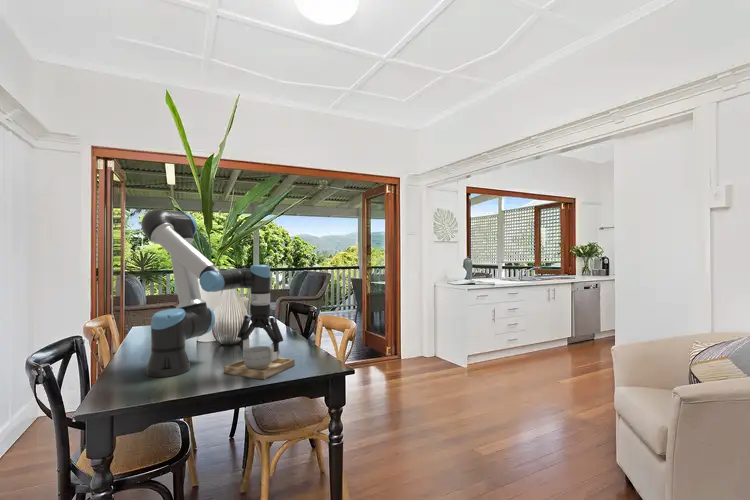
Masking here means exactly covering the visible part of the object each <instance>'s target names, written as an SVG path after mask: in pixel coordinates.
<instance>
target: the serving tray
mask: <svg viewBox="0 0 750 500" xmlns="http://www.w3.org/2000/svg"><path fill="white" fill-rule="evenodd" d="M295 362H296V361H295V359H294V358H286V357H285V358H284V357H279V356H277V359H276V360H274V361H272V362H271V363H270V365H269V366H268V367H267V368H265V369H262V370H250V369H248V368H247V367H246V366H245V364H244V359H241V360H239V361H236V362H233V363H230V364H227V365H225V366H223V373H224V374H226V375H227V374H228V375H233V376H241V377H245V378H251V379H260V380H266V379H268V378H271V377H273V376H275V375H277V374H279V373H281V372H283V371H286V370H288V369H290V368H293V367H294V366H295Z"/></svg>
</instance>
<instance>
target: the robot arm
mask: <svg viewBox="0 0 750 500" xmlns="http://www.w3.org/2000/svg"><path fill="white" fill-rule="evenodd" d="M141 229H142V232H143V234H144V235H145V236H146V238H147V239H148V240H150V241H151V242H152V243H153V244H155V245H160V246H161V247H162V248H163V249H164V250H165V251H166V252H168V253H169V256H170V261H171V267H172V271H173V277H174V281H175V282H174V283H175V289H176V292H177V299H178V305H177V306H176V308H175V307H174V308H169V309H163V310H159V311H157V312H155V313H154V314H153V315H152V316H151V322H150V323H151V324H150V331H151V332H150V339H151V340H150V342H151V344H150V345H151V346H150V347H151V348H150V350H151V351H150V356H149V359H148V362H147V365H146V368H145V375H146V376H148V377H153V378H164V377H165V378H166V377H171V376H178V375H181V374H184V373H187V372H189V371H190V369H191V362H190V360H189V356H188V354H187V351H186V341H187V340H190V339H194V338H197V337H202V336H203V335H206V334H209V332H211V331H212V330H213V328H214V327H215V323H216V316H215V315H216V314H215V312H214V310H212V309H211V308H210V307H208V306H207V305H208V304H207V301H206V300H204V299H203V298H202V294H201V290H200V287H201V289H202V290H203V291H205V292H208V293H217V292H221V291H227V290H228V291H229V290H236V289H250V290H249V291H250V303H249V304H250V307H249V308H250V309H249V311H250V313H249V314H247V315H246V314H245V315H244V317H243V322H242V325H241V327H240V329H239V332H238V334H237V338H238V339H241V347H242V357H243V358H244V352H243V350H244V349H246V348H250V339H249V338H250V335H251V334H252V333H253V331H254V330H255V329H258V328H259V329H263V331H265V332H266V333H267V336H268V337H269V339H270V340H271V342H272V343H271V344H270V347H271V361H274V360H276V359H277V357H278V356H277V351H278V350H280V346H279V344H280V343H281V342H283V341H284V338H283V336H282V333H281V329H280V328H279V325H278V322H277V317H276V316H273V317H270V313H271V305H270V303H271V276H272V275H271V267H270V266H269V265H268V264H253V265H251V266H250V268H249V269H244V268H243V269H242V268H241V269H239V268H231V269H230V268H229V269H225V270H222V269H220V268H219V267H217V265H216V264H214V263H213V262H212V261H210V260H209V259H208V258H207V257H206V256H205V255H204V254H202V253H201V252H200V251H199V250H198V249H196V248H195V247H194V246H193V245H192V243H193V242H194V241H195V239H194V236H196V234H197V233H196V232H197V231H198V223H197V221H196V219H195V217H194V216H193V215H191V214H190V213H188V212H184V211H181V210H170V209H163V208H155V209H151V210H149V211H148V212H146V213H145V215H144V216H143V218H142V219H141Z"/></svg>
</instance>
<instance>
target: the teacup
mask: <svg viewBox="0 0 750 500" xmlns="http://www.w3.org/2000/svg"><path fill="white" fill-rule="evenodd" d="M243 352H244V357H243V360H244V364H245V366H246V367H247V368H248V369H250V370H262V369H265V368H267V367H268V366H269V365H270V363H271V362H272V361H271V345H270V346H268V345H258V346H249V348H246V349H244V350H243V349H242V353H243ZM280 352H281V350H280V349H279V350H278V351H277V357H279V355H280Z"/></svg>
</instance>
